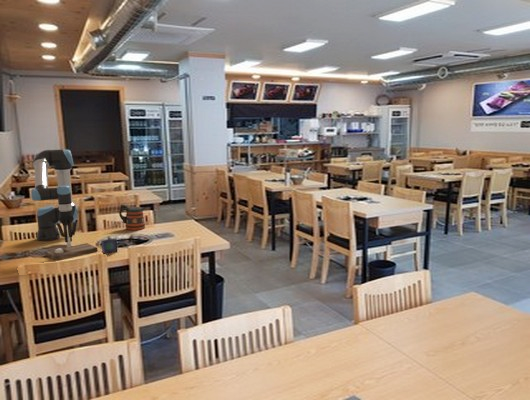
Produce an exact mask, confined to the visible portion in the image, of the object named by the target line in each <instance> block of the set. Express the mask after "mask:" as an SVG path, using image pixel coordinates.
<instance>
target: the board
mask: <svg viewBox="0 0 530 400" xmlns="http://www.w3.org/2000/svg"><path fill="white" fill-rule="evenodd" d="M56 249H57V248H56ZM56 249H55V248H54V249H52V250H46V251H45V256H46V257H48V258H50V259H52V260H54V261H60V260H64V259H69V258H74V257H79V256H83V255H87V254H91V253H96V252H98V247H97V246H95V245H92V244H90V243H89V242H88V243H87V242H85V243H81V244H76V245H71V247H67V246H66V247H61V249H63V251H64V253H55V250H56Z"/></svg>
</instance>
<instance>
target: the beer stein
mask: <svg viewBox="0 0 530 400" xmlns="http://www.w3.org/2000/svg"><path fill="white" fill-rule="evenodd" d="M123 211H126V212H125V213H126V214H125V216H124V215H123V214H122V212H123ZM143 211H144V207H143V206H141V207H140V206H127V205H126V204H120V207H119V213H118V215H119V217H120V219H121V220H122V223H123V224H125V228H126V230H128V231H140V229H141V230H144V229H145V228H146V224H145V220H144V212H143ZM143 228H144V229H143Z"/></svg>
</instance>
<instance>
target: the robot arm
mask: <svg viewBox="0 0 530 400" xmlns="http://www.w3.org/2000/svg"><path fill="white" fill-rule="evenodd" d="M73 166H75V165H74V159H73V156H72V152H71V150H70V149H64V148H62V149H46V150H42V151H40V152H39V153H37V155H36V156H35V157H34V159H33V161H32V167H33V168H34V188H33V189H31V191H30V196H31V200H32V201H33V202H37V201H38V202H42V201H50V200H51V201H52V200H53V201H54V200H55V201H56V200H57V203H58V204H57V207H55V206H54V205H47V206H43V207H40V208H38V209H36V219H37V220H36V221H37V228H38V229H37V234H36V237H35V238H36V241H38V242H48V241H55V240H59V239H60V238H61V237H62V238H64V242H65V243H66V247H71V246H72V241H73V238H72V237H73V236H75V234H76V228H77V223H78V221H79V220H78V206H77V205H76V203H75V202H74V201H73V191H72V177H71V170H72V169H73ZM51 167H53V170H54V171H56V178H57V179H56V180H57V187H49V175H48V174H49V173H48V169H49V168H51ZM61 224H62V226H61Z"/></svg>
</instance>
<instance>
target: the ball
mask: <svg viewBox="0 0 530 400" xmlns="http://www.w3.org/2000/svg"><path fill="white" fill-rule="evenodd" d="M61 248H62V247H61ZM61 248H60V247H59V248H56V250H55V249H54V250H55V253H64V251H63V249H61Z"/></svg>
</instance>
